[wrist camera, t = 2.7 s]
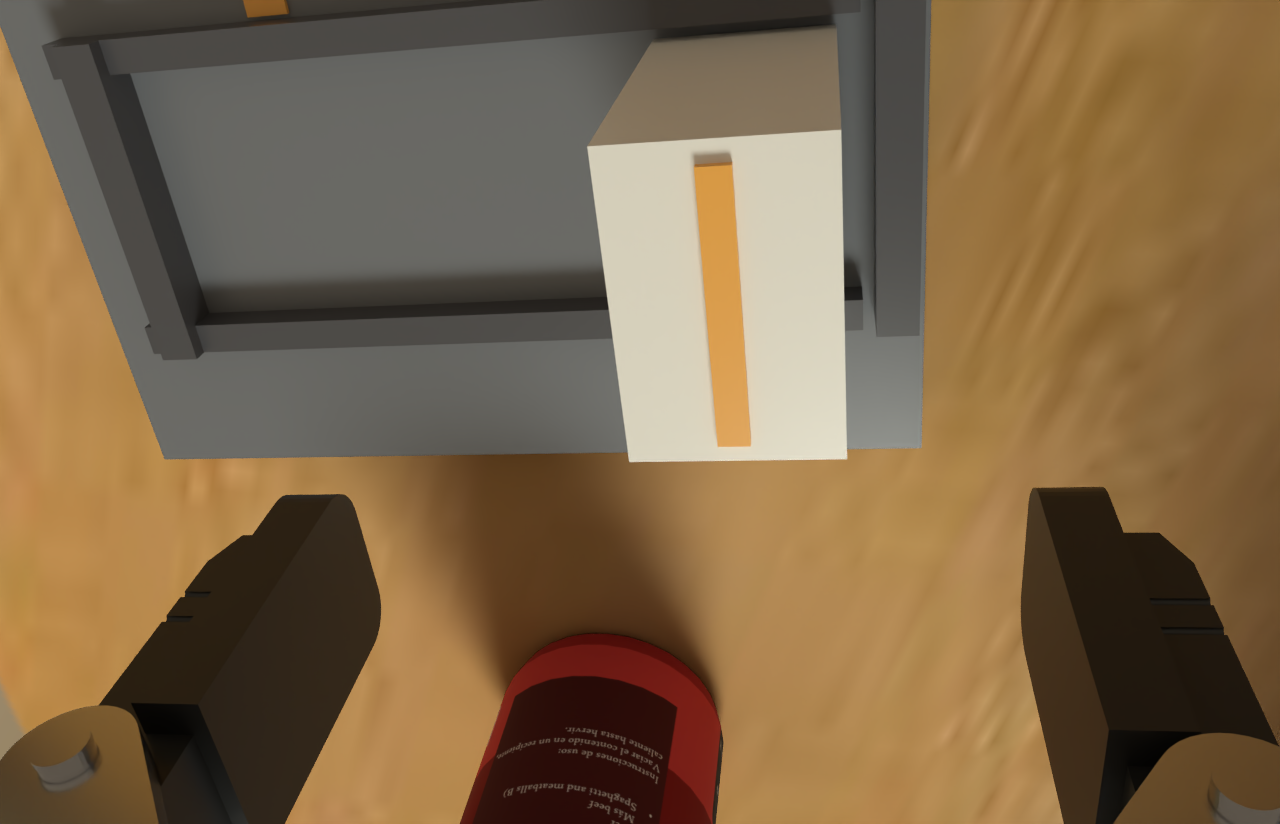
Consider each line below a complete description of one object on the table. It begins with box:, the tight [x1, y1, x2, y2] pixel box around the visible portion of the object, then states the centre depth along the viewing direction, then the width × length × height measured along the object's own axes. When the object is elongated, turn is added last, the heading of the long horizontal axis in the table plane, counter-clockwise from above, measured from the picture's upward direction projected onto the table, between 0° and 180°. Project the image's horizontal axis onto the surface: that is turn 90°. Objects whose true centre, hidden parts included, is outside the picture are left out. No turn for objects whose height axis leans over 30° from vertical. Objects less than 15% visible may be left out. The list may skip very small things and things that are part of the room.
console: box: [0, 0, 931, 459], centre depth 27 cm, size 22×16×3 cm
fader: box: [587, 24, 847, 462], centre depth 22 cm, size 4×6×8 cm, turn 7°
